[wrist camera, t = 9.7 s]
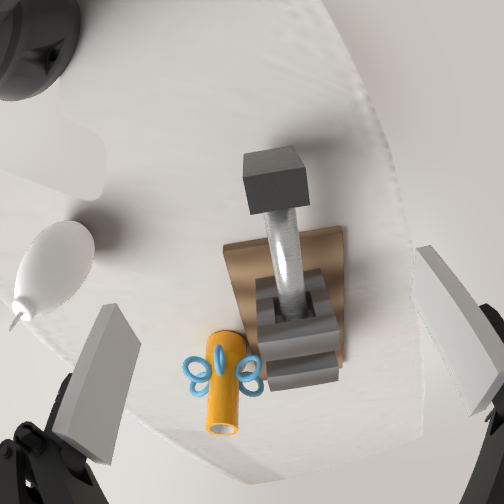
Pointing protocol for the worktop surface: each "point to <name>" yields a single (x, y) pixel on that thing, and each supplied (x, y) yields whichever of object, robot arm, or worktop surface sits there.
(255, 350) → the jig
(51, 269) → the sauce bottle
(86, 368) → the robot arm
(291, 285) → the shaft
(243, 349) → the cylinder
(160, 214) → the worktop surface
